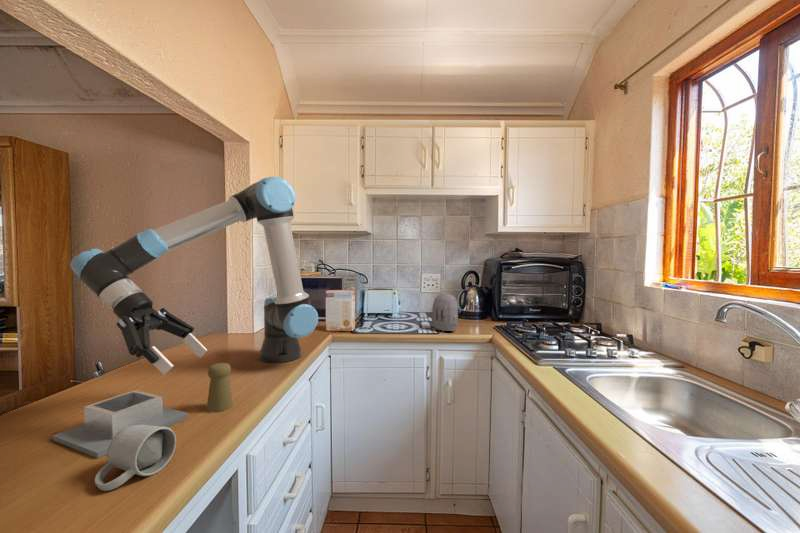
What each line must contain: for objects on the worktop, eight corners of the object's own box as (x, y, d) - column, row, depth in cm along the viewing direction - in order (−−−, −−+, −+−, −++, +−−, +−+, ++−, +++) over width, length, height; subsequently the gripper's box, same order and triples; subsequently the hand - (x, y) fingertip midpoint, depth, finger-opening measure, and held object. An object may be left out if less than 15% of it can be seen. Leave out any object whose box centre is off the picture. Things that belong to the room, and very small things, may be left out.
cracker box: (355, 330, 178) (355, 290, 178) (352, 332, 172) (352, 291, 172) (329, 329, 180) (329, 289, 179) (325, 331, 174) (325, 290, 173)
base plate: (145, 405, 88) (145, 401, 88) (188, 417, 82) (188, 413, 82) (52, 440, 71) (52, 435, 71) (97, 458, 65) (97, 453, 65)
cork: (208, 403, 89) (208, 361, 89) (234, 400, 91) (234, 359, 91) (204, 413, 83) (203, 369, 83) (231, 410, 85) (231, 366, 85)
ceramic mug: (145, 452, 67) (143, 414, 67) (177, 459, 65) (176, 420, 64) (81, 488, 57) (79, 443, 56) (117, 498, 55) (115, 452, 54)
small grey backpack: (460, 332, 174) (461, 293, 174) (450, 335, 168) (451, 294, 168) (437, 327, 185) (438, 291, 184) (427, 330, 179) (427, 292, 179)
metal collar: (135, 410, 83) (135, 389, 83) (162, 417, 79) (162, 396, 79) (84, 429, 74) (84, 406, 73) (112, 439, 70) (112, 415, 70)
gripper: (154, 304, 99) (205, 357, 99) (69, 321, 74) (138, 391, 74) (172, 286, 98) (224, 339, 99) (92, 296, 73) (162, 367, 74)
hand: (187, 361), depth 86 cm, fingers open, 13 cm apart
